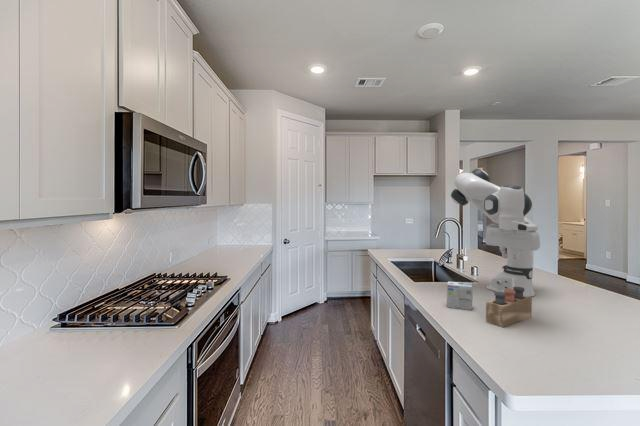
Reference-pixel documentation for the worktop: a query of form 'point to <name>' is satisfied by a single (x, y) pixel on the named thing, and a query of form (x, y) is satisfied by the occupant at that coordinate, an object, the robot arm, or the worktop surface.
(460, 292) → the light bulb box
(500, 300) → the plug near
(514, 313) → the oak socket block
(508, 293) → the plug mid
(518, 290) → the plug far
